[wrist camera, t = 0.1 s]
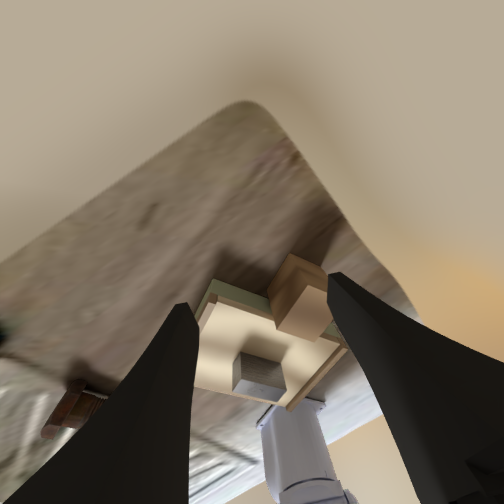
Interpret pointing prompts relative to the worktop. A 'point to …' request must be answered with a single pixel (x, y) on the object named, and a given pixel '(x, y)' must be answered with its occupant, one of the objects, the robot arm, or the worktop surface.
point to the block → (300, 299)
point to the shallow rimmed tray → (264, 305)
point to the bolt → (72, 410)
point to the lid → (256, 355)
